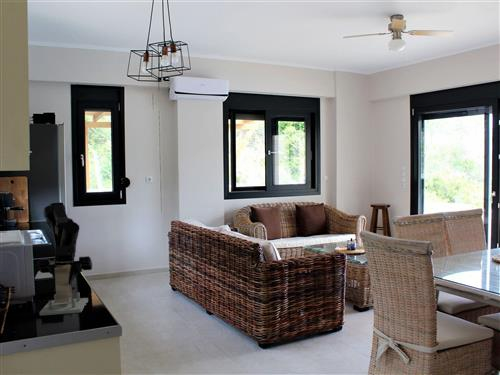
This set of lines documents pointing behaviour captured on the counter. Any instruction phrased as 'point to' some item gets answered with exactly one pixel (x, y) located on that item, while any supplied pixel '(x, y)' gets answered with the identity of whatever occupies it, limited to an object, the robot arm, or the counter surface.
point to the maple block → (63, 284)
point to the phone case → (43, 276)
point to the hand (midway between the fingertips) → (62, 284)
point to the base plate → (64, 306)
